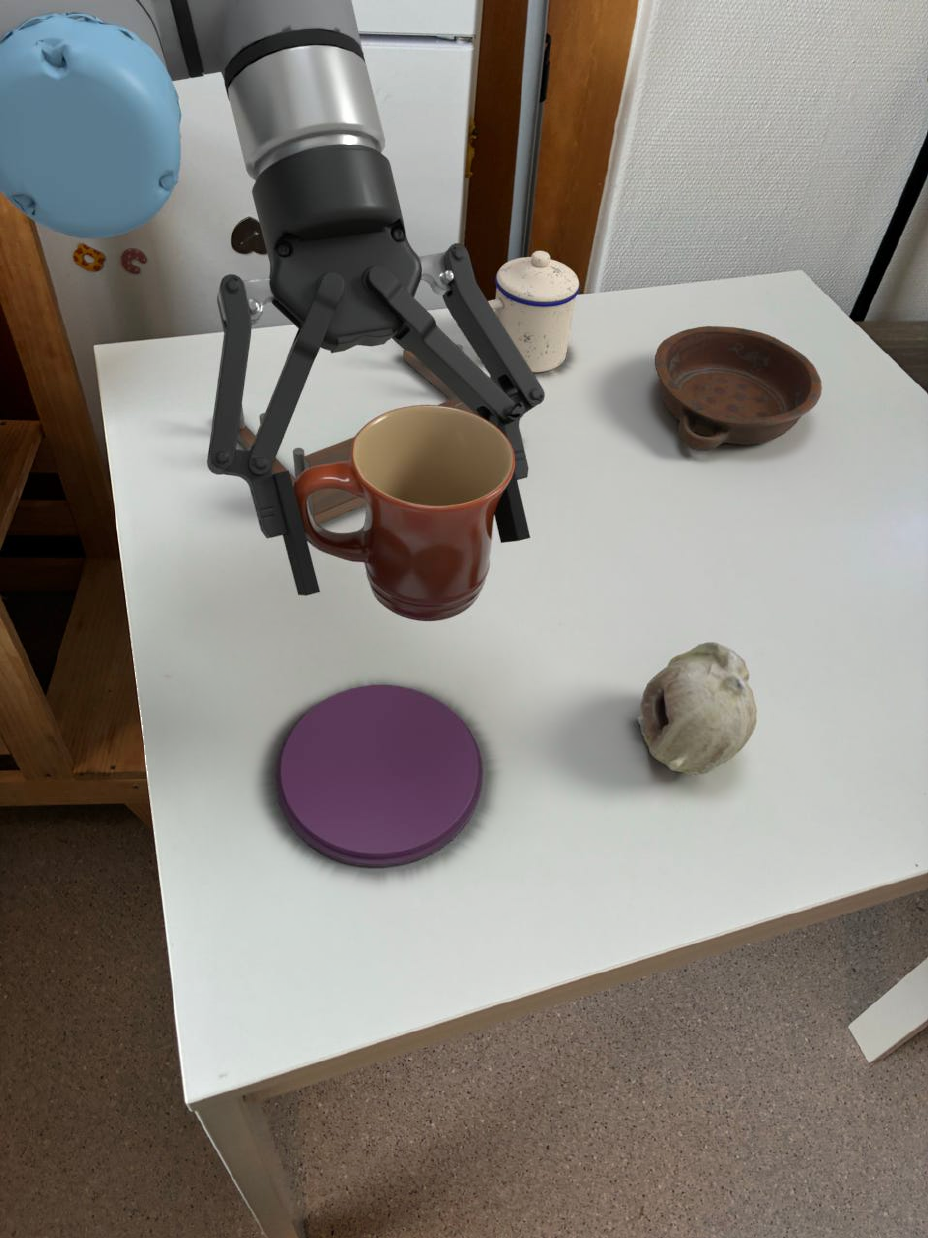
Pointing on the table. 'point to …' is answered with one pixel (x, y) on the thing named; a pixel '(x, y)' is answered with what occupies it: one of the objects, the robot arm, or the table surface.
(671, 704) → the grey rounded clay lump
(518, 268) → the teacup with lid
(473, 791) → the plum lid
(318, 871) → the table surface
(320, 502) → the dish rack
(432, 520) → the mug
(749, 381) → the dish
